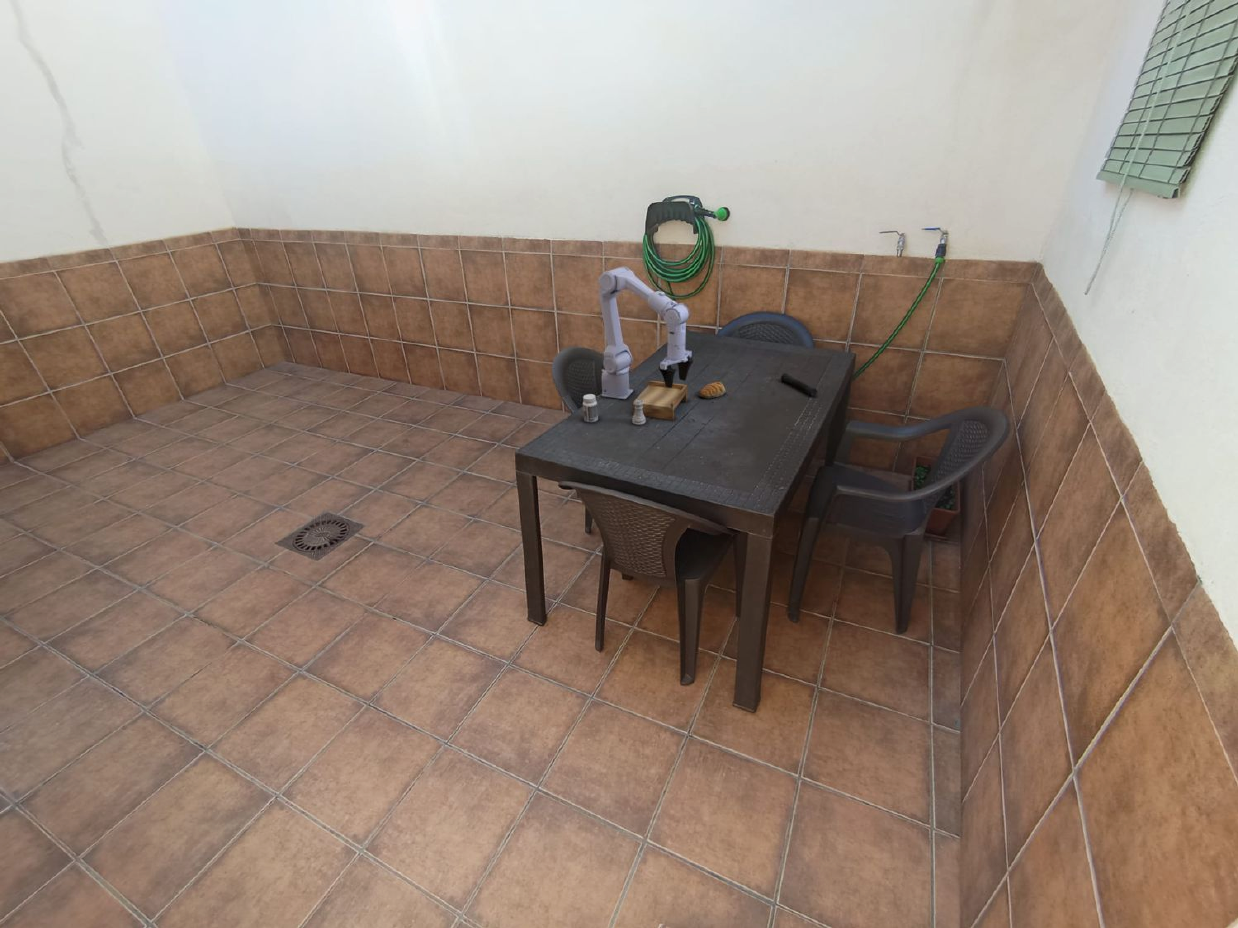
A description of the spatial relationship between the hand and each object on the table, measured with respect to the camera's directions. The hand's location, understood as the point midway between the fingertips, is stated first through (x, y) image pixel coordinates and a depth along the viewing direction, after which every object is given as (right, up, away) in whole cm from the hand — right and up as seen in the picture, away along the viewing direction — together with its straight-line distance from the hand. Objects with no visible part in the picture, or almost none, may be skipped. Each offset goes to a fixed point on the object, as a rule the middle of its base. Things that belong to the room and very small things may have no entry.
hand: (675, 383), depth 185 cm
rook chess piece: (-12, -13, -2) cm, 18 cm away
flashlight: (+46, 0, +17) cm, 49 cm away
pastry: (+15, -2, +15) cm, 21 cm away
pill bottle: (-28, -12, +2) cm, 31 cm away
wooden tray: (-4, -7, +7) cm, 11 cm away
